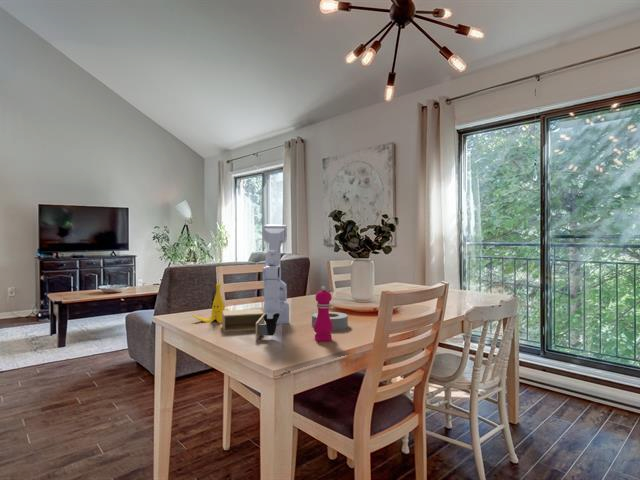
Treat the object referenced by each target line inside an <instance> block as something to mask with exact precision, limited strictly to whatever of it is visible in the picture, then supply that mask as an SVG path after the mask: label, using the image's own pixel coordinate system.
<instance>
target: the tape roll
mask: <svg viewBox="0 0 640 480" xmlns="http://www.w3.org/2000/svg"><path fill="white" fill-rule="evenodd" d="M317 315H318V312H314V313H312V314H311V327H312V328H313V329H314V323H315V321H316V319H317ZM329 317H330V320H331V322H332V325H333V330H332V332H333V331H343V330H346V329H347V328H348V325H349V324H348V323H349V322H348V318H349V317H348V314H347V313H344V312H337V311H329Z"/></svg>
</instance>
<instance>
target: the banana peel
mask: <svg viewBox="0 0 640 480" xmlns="http://www.w3.org/2000/svg"><path fill="white" fill-rule="evenodd" d="M215 287H216V293H215V295H214V299H213V302H212V307H211V316H210V317H209V318H206V317H204V318H203V317H200V316H197V315H195V314H192V316H193V317H194V318H195V319H197V320H198V321H201V322H202V323H212V322H214V321H215V320H216V322H217V323H219V324H222V311H225V310H229V309H228V308H225V306H224V305H225V304H224V301H223V298H222V294H221V283H216V284H215Z"/></svg>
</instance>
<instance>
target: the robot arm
mask: <svg viewBox="0 0 640 480" xmlns="http://www.w3.org/2000/svg"><path fill="white" fill-rule="evenodd" d="M287 228H288V227H287V225H286V224H264V225H263V227H262V238H263V240H264V242H265V243H266V244H268V251H267V252H266V253H265V258H264V261H265V262H264V266H263V268H262V281H263V282H262V283H263V310H262V312H263V313H264V314H265V315H264V316H263V318H264V320H265V324H266V325H267V331H268V335H273V336H274V335H275V333H276V329H277V328H276V327H277V325H280V324H283V325H285V324H290V305H289V304H290V303H289V301H287V300H288V295H287V294H288V293H287V292H288V288H287V283H286V282H284V280H281V279H282V277H281V276H282V268H281V254H282V253H281V251H282V249H281V247H282V245H283V244H284V243H286V242H287V237H288V234H287V233H288V232H287V231H288V229H287Z"/></svg>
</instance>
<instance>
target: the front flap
mask: <svg viewBox="0 0 640 480" xmlns="http://www.w3.org/2000/svg"><path fill="white" fill-rule="evenodd" d="M265 314H266V313H264V314H263V315H262V316H261V318H260V319H259V320H258V321H257V322H256V330H255V340H258V339H259V338H260V336H264V337H265V336H267V337H268V336H270V337H272V336H274V335H268V331H267V325H266V322H265V320H264V318H263V316H264V315H265Z"/></svg>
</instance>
